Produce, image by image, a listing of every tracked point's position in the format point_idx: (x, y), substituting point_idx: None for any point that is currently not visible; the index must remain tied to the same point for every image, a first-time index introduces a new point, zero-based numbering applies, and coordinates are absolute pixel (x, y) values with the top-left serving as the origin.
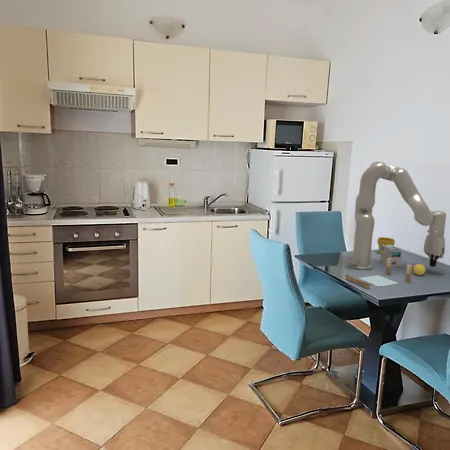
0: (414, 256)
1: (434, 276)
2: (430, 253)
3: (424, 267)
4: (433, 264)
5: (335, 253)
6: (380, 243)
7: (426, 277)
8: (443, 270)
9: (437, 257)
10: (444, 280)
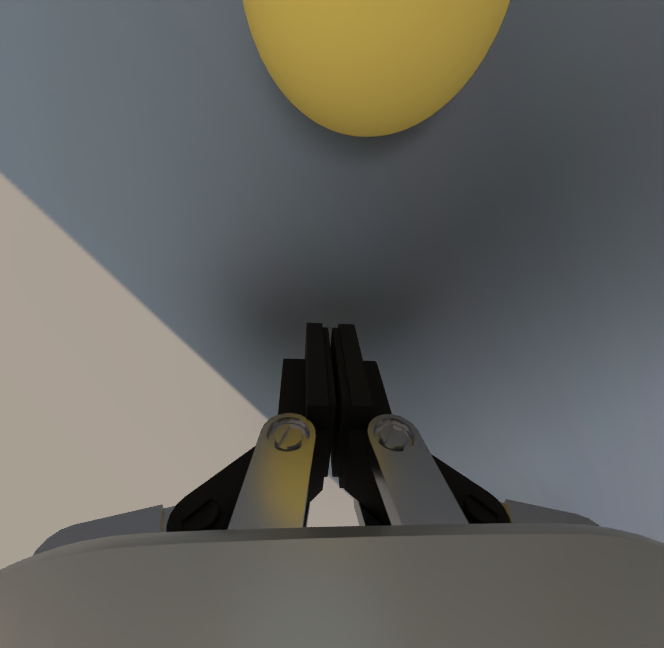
0: (638, 533)
1: (209, 211)
2: (383, 546)
3: (266, 7)
4: (300, 363)
5: None
6: None
7: (199, 9)
8: (330, 459)
9: (192, 504)
10: (12, 168)
